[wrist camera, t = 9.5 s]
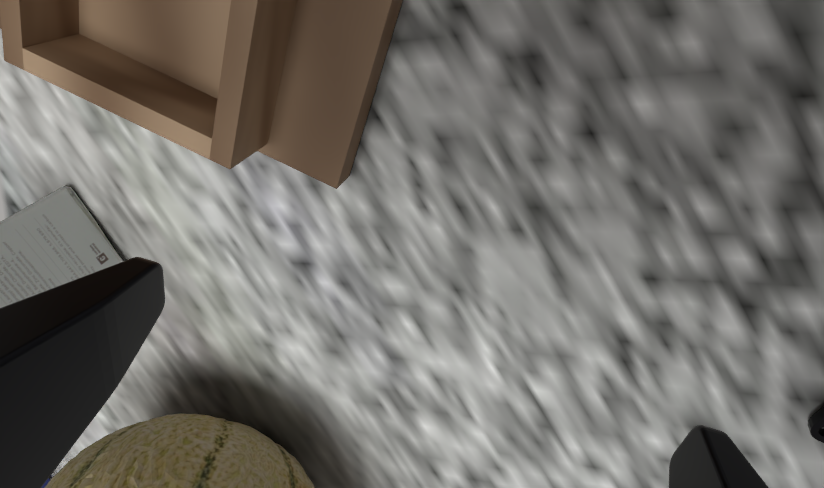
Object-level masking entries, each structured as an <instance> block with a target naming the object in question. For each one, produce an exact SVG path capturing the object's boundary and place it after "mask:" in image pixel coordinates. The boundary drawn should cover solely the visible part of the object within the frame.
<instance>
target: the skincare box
mask: <svg viewBox="0 0 824 488" xmlns="http://www.w3.org/2000/svg"><path fill="white" fill-rule="evenodd" d="M121 262H123V260H122V259H121V258H120V256H119V255H118V254H117V252H116V251H115V249H114V248H113V247H112V245H111V244H110V242H109V241H108V239H107V238H106V236H105V235H104V233H103V232H102V230H101V229H100V227H99V226H98V224H97V222H96V221H95V220H94V218H93V217H92V215H91V214H90V213H89V211H88V210H87V208H86V207H85V206H84V204H83V203H82V201H81V200H80V199H79V197H78V196H77V195H76V193H75V192H74V191H73V189H72V188H71V187H67V186H64V187H62V188H59V189H58V190H56V191H54V192H53V193H51V194H49V195H47V196H46V197H44V198H42V199H40V200H38V201H37V202H35V203H33V204H31V205H30V206H28V207H26V208H24V209H22V210H21V211H19V212H17V213H15V214H14V215H12V216H10V217H8V218H6V219H5V220H3V221H1V222H0V308H2V307H4V306H7V305H10V304H12V303H15V302H18V301H20V300H23V299H26V298H28V297H31V296H33V295H36V294H39V293H41V292H44V291H47V290H49V289H52V288H55V287H57V286H60V285H63V284H65V283H68V282H70V281H73V280H76V279H78V278H81V277H84V276H86V275H89V274H92V273H94V272H97V271H99V270H102V269H105V268H107V267H110V266H113V265H115V264H118V263H121Z"/></svg>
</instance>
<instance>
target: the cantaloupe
mask: <svg viewBox="0 0 824 488" xmlns="http://www.w3.org/2000/svg"><path fill="white" fill-rule="evenodd" d="M45 488H315V487H314V485H313V483H312V482H311V480H310V479H309V478H308V476H307V475H306V473H305V471H304V469H303V467H302V466H301V465H300V463H299V462H298V461H297V460H296V458H295V457H294V456H292V455H291V454H289V453H288V452H287V451H286V450H285V449H284V448H283V447H282V446H281V445H280V444H276V443H274V442H273V441H272V440H271V439H270V438H268V437H267V436H265V435H264V434H262V433H260V432H259V431H257V430H255V429H254V428H252V427H250V426H247V425H244V424H241V423H239V422H232V421H227V420H225V419H223V418H216V417H212V416H209V415H200V414H183V413H180V414H173V415H165V416H162V417H157V418H153V419H150V420H148V421H144V422H139V423H136V424H134V425H130V426H127V427H124V428H121V429H119V430H117V431H115V432H113V433H112V434H109V435H107V436H105V437H103V438H102V439H100V440H98V441H96V442H95V443H93V444H92V445H90V446H88V447H87V448H85V449H84V450H82V451H81V452H80V453H79V454H78V455H77V456H76V457H75V458H73V459H71V460H70V461H69V462H68V463H67V464H66V465H65V466H64V467H63V468H62V469H61V470H60V471H59V472H58V473H57V474H56V475H55V476H54V477H53V478H52V479H51V480H50V481H49V482H48V484H47V485H46V486H45Z"/></svg>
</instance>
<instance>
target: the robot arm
mask: <svg viewBox="0 0 824 488" xmlns="http://www.w3.org/2000/svg"><path fill="white" fill-rule="evenodd" d="M164 303H165V292H164V279H163V269H162V266H161V265H160V264H159V263H157V262H154V261H151V260H148V259H144V258H141V257H135V258H131V259H129V260H126V261H123V262H121V263H118V264H115V265H113V266H110V267H107V268H105V269H102V270H99V271H97V272H94V273H92V274H89V275H86V276H84V277H81V278H78V279H76V280H73V281H70V282H68V283H65V284H63V285H60V286H57V287H55V288H52V289H49V290H47V291H44V292H41V293H39V294H36V295H33V296H31V297H28V298H26V299H23V300H20V301H18V302H15V303H12V304H10V305H7V306H4V307H2V308H0V488H41V487H42V486H43V485H44V483H45V482H46V481H47V479H48V478H49V477H50V475H51V474H52V473H53V471H54V470H55V469H56V467H57V466H58V465H59V463H60V462H61V461H62V459H63V458H64V457H65V455H66V454H67V453H68V451H69V450H70V449H71V447H72V446H73V445H74V443H75V442H76V441H77V440H78V438H79V437H80V436H81V434H82V433H83V432H84V430H85V429H86V428H87V426H88V425H89V424H90V422H91V421H92V420H93V418H94V417H95V416H96V414H97V413H98V412H99V410H100V409H101V408H102V406H103V405H104V404H105V402H106V401H107V400H108V398H109V397H110V396H111V394H112V393H113V391H114V390H115V389H116V387H117V386H118V384H119V383H120V381H121V379H122V378H123V376H124V375H125V373H126V371H127V370H128V368H129V366H130V365H131V363H132V361H133V360H134V358H135V356H136V354H137V353H138V351H139V349H140V348H141V346H142V344H143V343H144V341H145V339H146V338H147V336H148V334H149V333H150V331H151V329H152V328H153V326H154V324H155V323H156V321H157V319H158V318H159V316H160V314H161V312H162V310H163V307H164ZM808 427H809V430H810V433H811V435H812V436H813V437H814V438H815V439H817V440H819V441H821V442H823V443H824V429H822V427H824V407H822V408H821V409H820V410H819V411H818V412H816V413H815V414H814V415H813V416H812V417H811V418H810V419H809V420H808ZM669 488H768V486H767V485H766V484H765V483H764V481H763V480H762V479H761V477H760V476H759V475H758V474H757V472H756V471H755V470H754V468H753V467H752V466H751V465H750V463H749V462H748V461H747V459H746V458H745V457H744V456H743V454H742V453H741V452H740V450H739V449H738V448H737V447H736V445H735V444H734V443H733V441H732V440H731V439H730V438H729V437H728V435H727V434H725V433H724V432H722V431H720V430H716V429H713V428H710V427H706V426H703V425H698V426H695V427H694V428H693V429H692V430H691V431H690V432H689V434H688V435H687V436H686V438H685V439H684V440H683V442H682V443H681V444H680V446H679V447H678V448H677V450H676V451H675V452H674V454H673V456H672V458H671V461H670V466H669Z"/></svg>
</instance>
